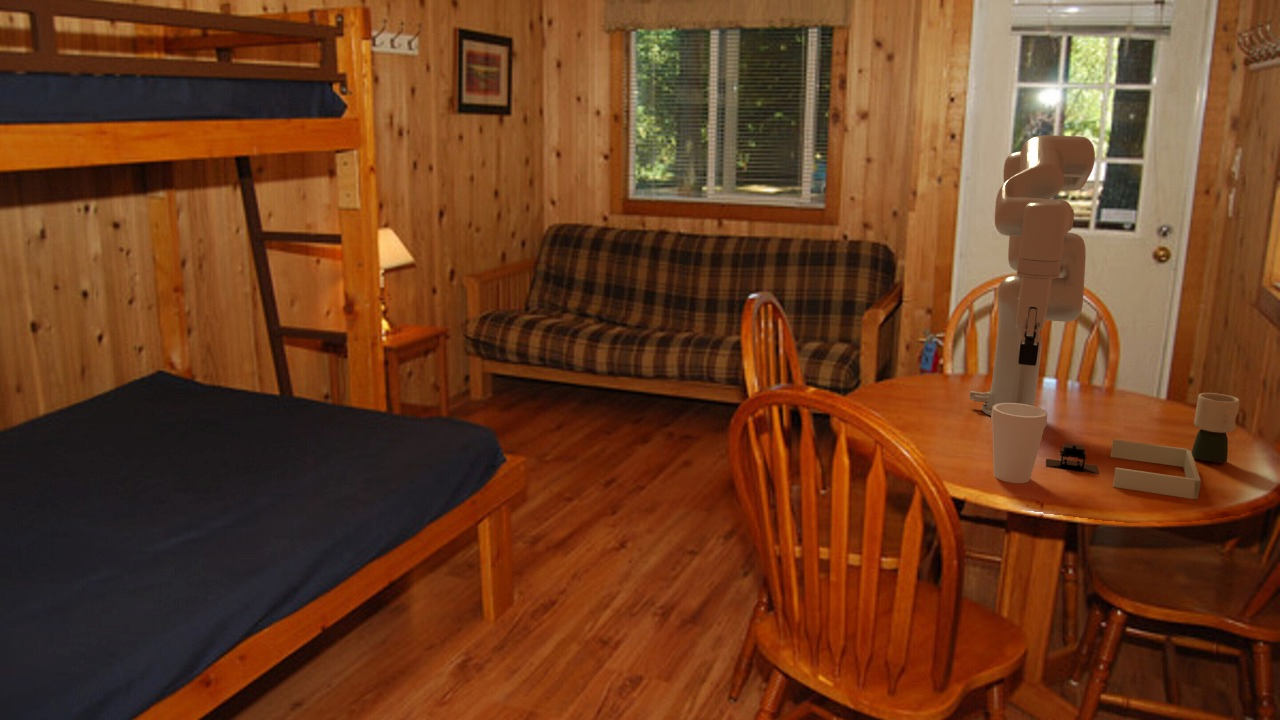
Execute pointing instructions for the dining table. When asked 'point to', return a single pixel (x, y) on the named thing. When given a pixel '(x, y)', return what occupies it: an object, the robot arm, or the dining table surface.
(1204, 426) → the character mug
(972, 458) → the dining table surface
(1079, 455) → the black piece
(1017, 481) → the foam cup
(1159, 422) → the dining table surface
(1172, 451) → the corral
